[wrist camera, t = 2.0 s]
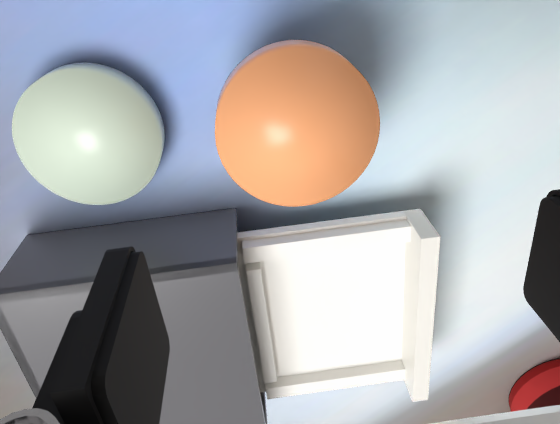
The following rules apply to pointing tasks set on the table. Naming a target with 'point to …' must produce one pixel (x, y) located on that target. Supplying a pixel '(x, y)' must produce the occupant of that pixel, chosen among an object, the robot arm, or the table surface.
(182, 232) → the grey drawer box
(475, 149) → the table surface
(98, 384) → the robot arm
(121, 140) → the disc sage
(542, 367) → the canned food
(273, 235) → the tray
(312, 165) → the disc
